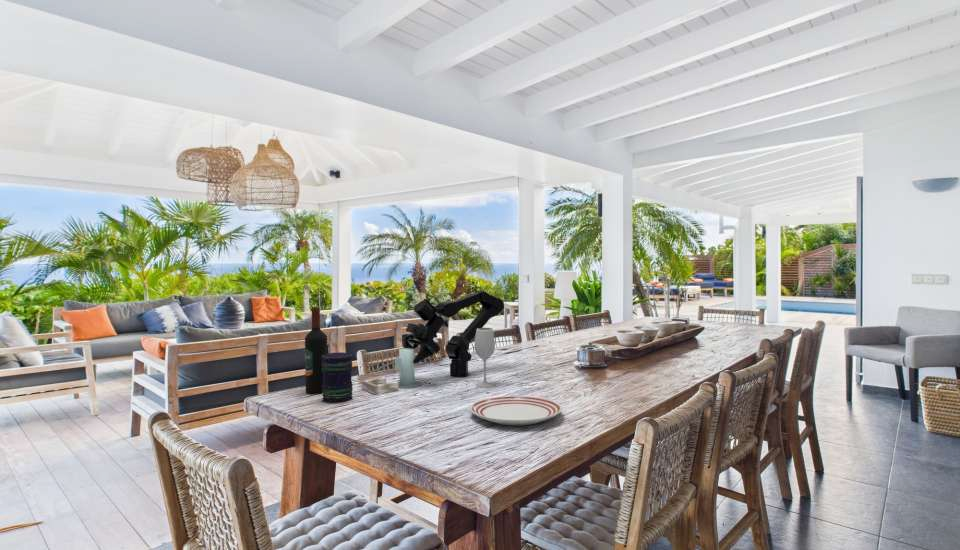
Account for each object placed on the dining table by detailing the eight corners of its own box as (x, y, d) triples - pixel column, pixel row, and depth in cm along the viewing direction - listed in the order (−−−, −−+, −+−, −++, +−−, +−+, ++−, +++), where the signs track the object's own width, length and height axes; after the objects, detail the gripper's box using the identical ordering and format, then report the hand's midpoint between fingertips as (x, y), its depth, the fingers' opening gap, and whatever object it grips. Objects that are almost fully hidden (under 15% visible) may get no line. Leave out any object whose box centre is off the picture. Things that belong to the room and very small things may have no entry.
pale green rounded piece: (409, 381, 195) (409, 347, 195) (417, 384, 191) (417, 349, 191) (391, 384, 190) (391, 349, 190) (399, 387, 186) (399, 351, 186)
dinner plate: (457, 409, 161) (457, 398, 161) (535, 400, 171) (535, 390, 171) (489, 437, 136) (489, 424, 136) (579, 425, 145) (579, 413, 145)
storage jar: (345, 393, 179) (344, 351, 179) (357, 399, 172) (357, 355, 171) (317, 398, 173) (316, 354, 172) (329, 405, 165) (328, 359, 165)
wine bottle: (324, 394, 179) (322, 308, 178) (302, 394, 179) (301, 308, 178) (330, 388, 186) (329, 306, 185) (310, 388, 186) (308, 306, 185)
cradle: (384, 385, 191) (384, 377, 191) (398, 390, 183) (398, 382, 183) (361, 389, 185) (361, 381, 185) (375, 395, 177) (375, 386, 177)
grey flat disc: (425, 382, 196) (425, 381, 196) (416, 389, 185) (416, 388, 185) (397, 380, 198) (397, 379, 198) (387, 387, 187) (387, 386, 187)
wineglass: (472, 386, 188) (471, 329, 188) (478, 382, 196) (477, 327, 195) (491, 388, 186) (491, 330, 185) (497, 383, 193) (497, 327, 193)
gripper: (405, 313, 201) (380, 344, 195) (432, 317, 187) (406, 351, 180) (422, 331, 207) (399, 362, 200) (450, 336, 192) (426, 370, 186)
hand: (407, 361), depth 191 cm, fingers open, 9 cm apart
